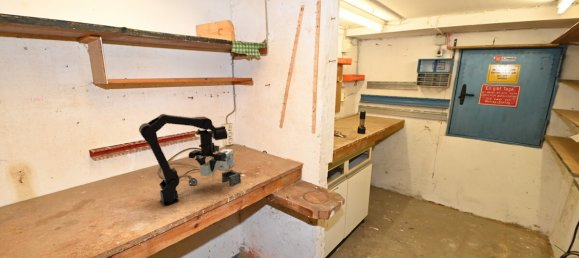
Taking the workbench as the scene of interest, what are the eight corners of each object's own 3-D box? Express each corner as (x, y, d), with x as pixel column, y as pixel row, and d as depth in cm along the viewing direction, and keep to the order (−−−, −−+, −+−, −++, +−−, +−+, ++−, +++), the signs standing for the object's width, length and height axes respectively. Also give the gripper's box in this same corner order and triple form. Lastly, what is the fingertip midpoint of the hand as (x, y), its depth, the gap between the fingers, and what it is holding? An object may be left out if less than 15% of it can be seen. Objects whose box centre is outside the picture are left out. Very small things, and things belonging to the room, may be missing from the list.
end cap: (231, 186, 138) (230, 177, 137) (222, 182, 144) (221, 172, 143) (240, 182, 143) (240, 173, 142) (231, 178, 149) (231, 169, 147)
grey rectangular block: (207, 176, 128) (207, 167, 126) (200, 175, 129) (200, 166, 127) (220, 167, 139) (219, 159, 138) (213, 167, 140) (213, 158, 139)
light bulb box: (227, 170, 160) (226, 154, 158) (217, 169, 162) (216, 153, 159) (234, 164, 171) (233, 149, 168) (225, 163, 172) (224, 148, 169)
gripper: (230, 139, 133) (232, 167, 137) (199, 136, 138) (202, 163, 142) (219, 145, 123) (221, 175, 126) (186, 142, 128) (189, 171, 131)
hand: (208, 171), depth 132 cm, fingers closed on grey rectangular block, 4 cm apart
